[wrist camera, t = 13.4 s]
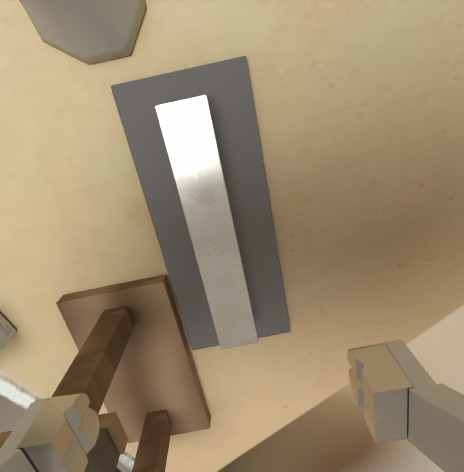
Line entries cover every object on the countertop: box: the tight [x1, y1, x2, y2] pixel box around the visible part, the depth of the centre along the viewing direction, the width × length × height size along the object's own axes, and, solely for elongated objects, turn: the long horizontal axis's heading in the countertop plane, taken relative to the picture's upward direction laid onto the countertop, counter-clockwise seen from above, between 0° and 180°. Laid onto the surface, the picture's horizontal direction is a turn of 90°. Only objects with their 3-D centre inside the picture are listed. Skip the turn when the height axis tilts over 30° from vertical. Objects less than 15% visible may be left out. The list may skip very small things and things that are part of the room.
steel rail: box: [155, 95, 258, 349], centre depth 23 cm, size 3×18×3 cm, turn 12°
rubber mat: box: [111, 56, 291, 350], centre depth 24 cm, size 9×22×1 cm, turn 11°
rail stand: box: [0, 275, 211, 472], centre depth 22 cm, size 9×17×15 cm, turn 11°
